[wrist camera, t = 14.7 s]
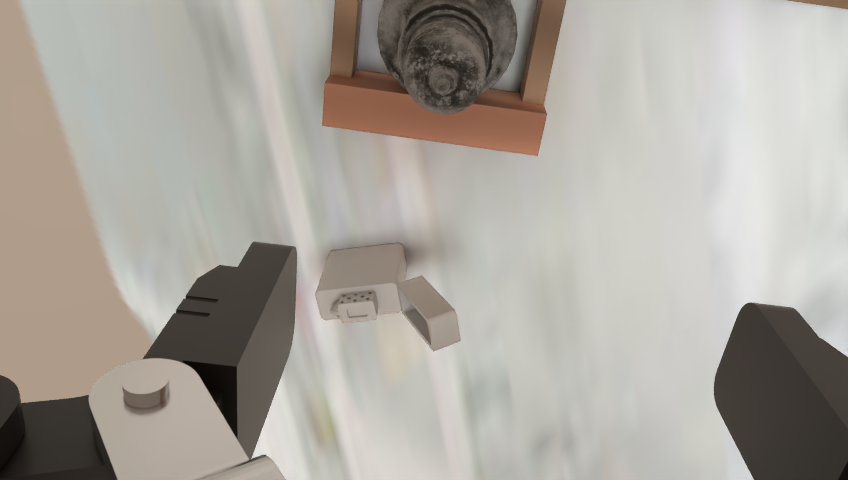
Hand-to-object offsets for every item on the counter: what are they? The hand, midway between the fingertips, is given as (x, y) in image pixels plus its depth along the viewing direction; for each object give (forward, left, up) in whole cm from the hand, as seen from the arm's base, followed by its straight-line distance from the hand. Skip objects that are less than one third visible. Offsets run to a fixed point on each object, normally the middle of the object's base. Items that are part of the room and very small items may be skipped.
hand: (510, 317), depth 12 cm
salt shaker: (+1, +2, -23) cm, 23 cm away
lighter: (-12, +3, -23) cm, 26 cm away
